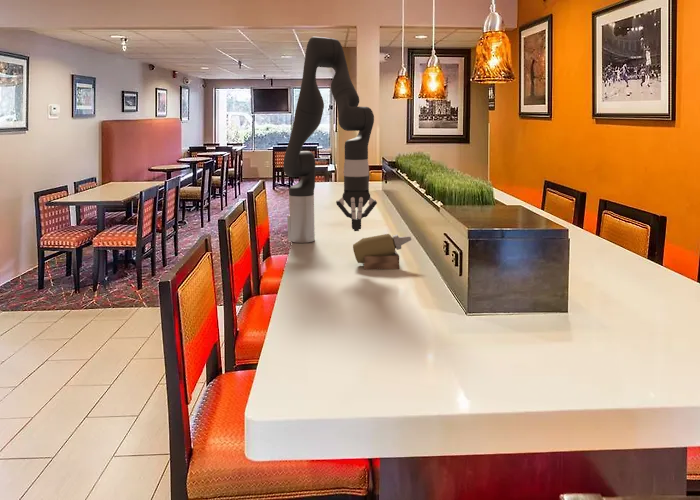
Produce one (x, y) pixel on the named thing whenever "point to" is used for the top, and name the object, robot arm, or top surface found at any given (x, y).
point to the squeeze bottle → (378, 246)
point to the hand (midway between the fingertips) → (356, 230)
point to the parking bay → (381, 262)
